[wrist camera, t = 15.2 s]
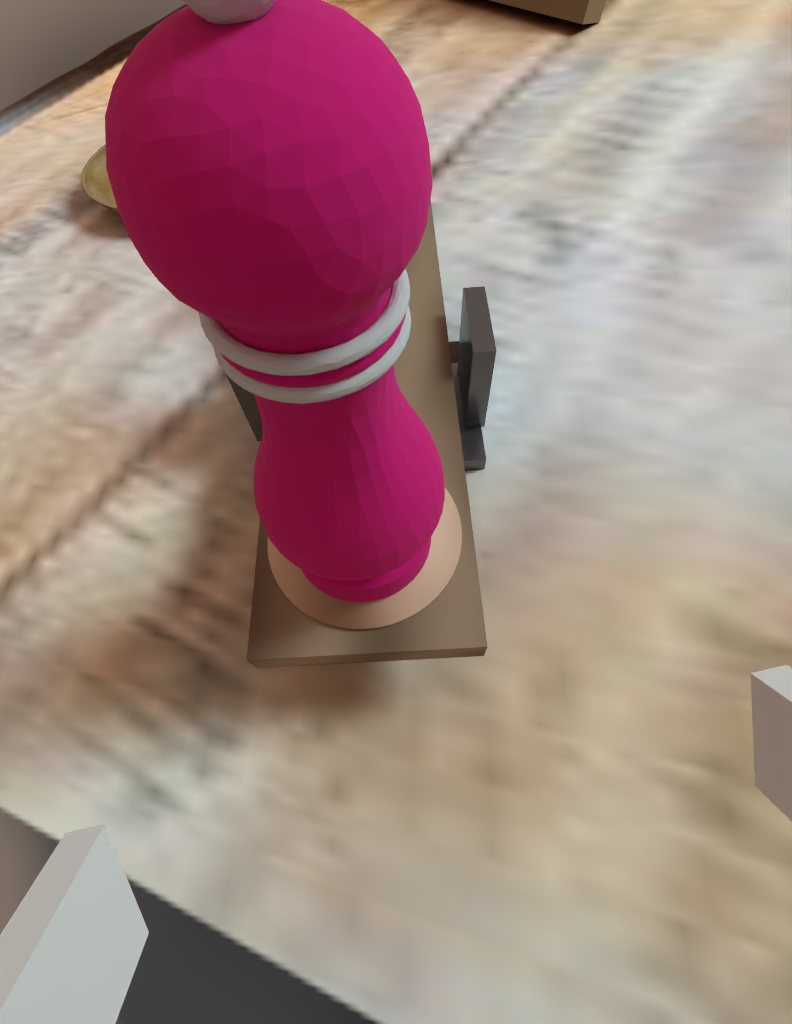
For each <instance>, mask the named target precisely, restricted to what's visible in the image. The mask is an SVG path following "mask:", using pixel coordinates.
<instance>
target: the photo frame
mask: <svg viewBox="0 0 792 1024" xmlns="http://www.w3.org/2000/svg"><path fill="white" fill-rule="evenodd" d="M490 1H494V2H498V3H502V4H505V5H509V6H513V7H517V8H521V9H525V10H529V11H533V12H536V13H540V14H544V15H548V16H552V17H556V18H560V19H564V20H568V21H571V22H575V23H579V24H590V23H599V21H600V18H601V14H602V11H603V8H604V4H605V1H606V0H490Z"/></svg>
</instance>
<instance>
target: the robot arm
mask: <svg viewBox="0 0 792 1024" xmlns="http://www.w3.org/2000/svg"><path fill="white" fill-rule="evenodd" d="M751 692H752V718H753V745H754V771H755V786H756V787H757V788H758V789H759V790H760V791H761V792H762V793H763V794H764V795H765V796H766V797H767V798H768V799H769V800H770V801H771V802H772V803H773V804H774V805H776V806H777V807H778V808H779V809H780V810H781V811H782V812H783V813H784V814H785V815H786V816H787V817H788V818H789V819H790V820H791V821H792V668H791V667H789V666H787V665H784V666H780V667H776V668H771V669H767V670H763V671H758V672H754V673H751ZM148 933H149V932H148V929H147V927H146V924H145V922H144V920H143V917H142V915H141V912H140V910H139V907H138V905H137V902H136V900H135V897H134V895H133V892H132V890H131V887H130V885H129V882H128V880H127V877H126V875H125V872H124V870H123V867H122V865H121V863H120V860H119V858H118V855H117V853H116V850H115V848H114V845H113V843H112V840H111V838H110V835H109V833H108V830H107V828H106V825H105V824H103V825H99V826H95V827H91V828H86V829H82V830H78V831H73V832H69V833H65V835H64V836H63V838H62V839H61V841H60V842H59V844H58V846H57V847H56V849H55V851H54V852H53V853H52V855H51V857H50V858H49V860H48V861H47V863H46V864H45V866H44V867H43V869H42V871H41V872H40V874H39V875H38V877H37V878H36V880H35V882H34V883H33V885H32V886H31V888H30V889H29V891H28V892H27V894H26V896H25V897H24V899H23V900H22V902H21V904H20V905H19V906H18V908H17V910H16V911H15V913H14V914H13V916H12V918H11V919H10V921H9V922H8V924H7V925H6V927H5V928H4V930H3V932H2V933H1V935H0V1024H115V1023H116V1020H117V1018H118V1015H119V1012H120V1010H121V1007H122V1004H123V1001H124V999H125V996H126V993H127V991H128V988H129V985H130V982H131V980H132V977H133V974H134V972H135V969H136V966H137V963H138V961H139V958H140V955H141V953H142V950H143V947H144V944H145V942H146V939H147V936H148Z"/></svg>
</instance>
